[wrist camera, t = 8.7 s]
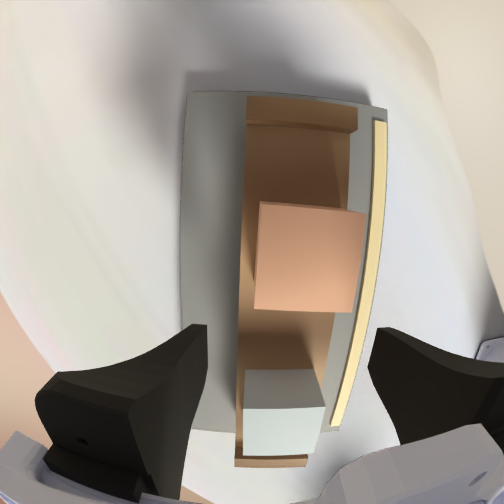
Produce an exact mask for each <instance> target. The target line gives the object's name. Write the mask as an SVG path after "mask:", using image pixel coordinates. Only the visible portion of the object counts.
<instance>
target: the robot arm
mask: <svg viewBox="0 0 504 504" xmlns="http://www.w3.org/2000/svg"><path fill="white" fill-rule="evenodd" d="M207 370H208V339H207V325H204V324H191V325H189V326H188V327H186V328H185V329H184V330H182V331H181V332H179V333H178V334H177V335H175V336H174V337H172V338H171V339H169V340H168V341H166V342H164V343H163V344H161V345H159V346H157V347H156V348H154V349H152V350H150V351H148V352H146V353H144V354H142V355H140V356H137V357H135V358H133V359H130V360H127V361H124V362H120V363H117V364H114V365H110V366H106V367H101V368H96V369H90V370H82V371H66V372H57V373H56V374H55V375H54V376H53V377H52V378H51V379H50V380H49V381H48V382H47V383H46V384H45V385H44V387H43V388H42V389H41V390H40V391H39V392H38V393H37V394H36V397H35V406H36V410H37V412H38V415H39V417H40V419H41V422H42V424H43V425H44V427H45V429H46V431H47V433H48V435H49V437H50V438H51V440H52V442H53V444H52V446H51V447H50V449H49V450H48V449H47V448H46V447H45V446H44V445H43V444H41V443H40V442H38V441H36V440H34V439H32V438H30V437H28V436H26V435H25V434H23V433H21V432H19V431H16V432H15V433H14V434H13V435H12V436H11V437H10V439H9V440H8V441H7V442H6V443H5V445H4V446H3V447H2V448H1V450H0V497H1V498H2V499H3V500H4V501H5V502H6V503H7V504H201V503H193V502H186V501H181V500H179V498H180V489H181V482H182V475H183V468H184V462H185V456H186V450H187V445H188V439H189V434H190V430H191V426H192V423H193V420H194V417H195V414H196V411H197V408H198V405H199V402H200V399H201V396H202V393H203V390H204V386H205V382H206V376H207ZM368 370H369V373H370V377H371V379H372V382H373V385H374V387H375V389H376V391H377V393H378V395H379V397H380V399H381V400H382V402H383V404H384V406H385V408H386V410H387V412H388V414H389V416H390V418H391V420H392V422H393V424H394V426H395V429H396V432H397V435H398V438H399V441H400V444H401V445H399V446H395V447H390V448H386V449H382V450H379V451H377V452H373V453H370V454H367V455H364V456H361V457H360V458H358V459H356V460H354V461H353V462H351V463H349V464H347V465H345V466H344V467H342V468H341V469H340V470H339V471H338V472H337V473H336V474H335V475H334V476H333V477H332V478H331V479H330V480H329V481H328V482H327V483H326V485H325V487H324V489H323V491H322V493H321V495H320V497H319V498H316V499H311V500H306V501H301V502H296V503H291V504H504V337H501V338H497V339H493V340H488V341H484V342H483V343H482V344H481V347H480V349H479V352H478V355H477V357H476V359H472V358H467V357H463V356H460V355H456V354H453V353H450V352H447V351H444V350H442V349H439V348H437V347H434V346H432V345H430V344H427V343H425V342H423V341H421V340H419V339H417V338H414V337H412V336H410V335H408V334H406V333H404V332H401V331H399V330H396V329H394V328H390V327H386V328H377V332H376V336H375V340H374V344H373V348H372V352H371V356H370V360H369V363H368Z"/></svg>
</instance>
